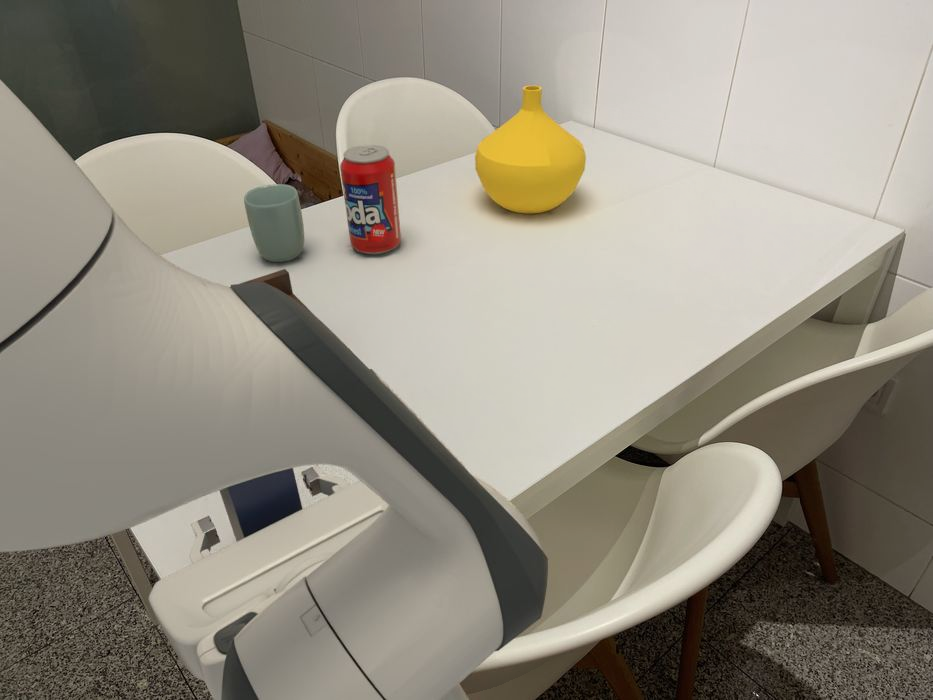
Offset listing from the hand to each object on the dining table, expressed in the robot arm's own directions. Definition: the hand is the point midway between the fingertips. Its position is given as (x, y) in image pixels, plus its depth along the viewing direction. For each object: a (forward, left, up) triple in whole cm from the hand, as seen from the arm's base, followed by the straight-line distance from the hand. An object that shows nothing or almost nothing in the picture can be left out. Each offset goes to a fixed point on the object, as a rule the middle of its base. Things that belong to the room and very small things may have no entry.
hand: (257, 498), depth 58 cm
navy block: (0, -1, -7) cm, 7 cm away
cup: (+23, +51, -7) cm, 57 cm away
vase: (+65, +43, -7) cm, 78 cm away
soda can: (+36, +45, -7) cm, 58 cm away
